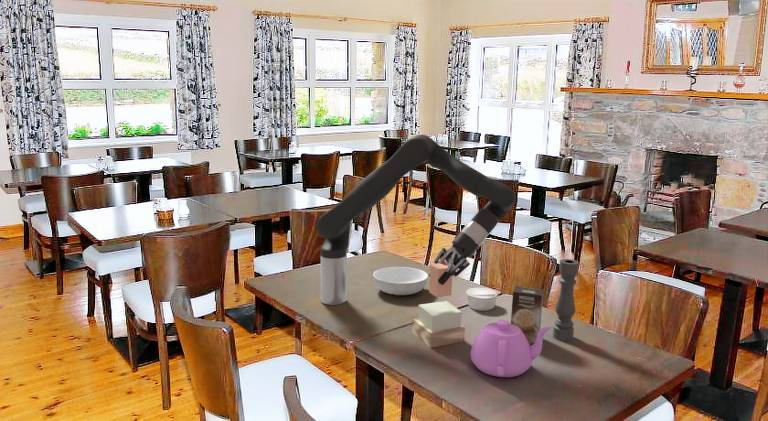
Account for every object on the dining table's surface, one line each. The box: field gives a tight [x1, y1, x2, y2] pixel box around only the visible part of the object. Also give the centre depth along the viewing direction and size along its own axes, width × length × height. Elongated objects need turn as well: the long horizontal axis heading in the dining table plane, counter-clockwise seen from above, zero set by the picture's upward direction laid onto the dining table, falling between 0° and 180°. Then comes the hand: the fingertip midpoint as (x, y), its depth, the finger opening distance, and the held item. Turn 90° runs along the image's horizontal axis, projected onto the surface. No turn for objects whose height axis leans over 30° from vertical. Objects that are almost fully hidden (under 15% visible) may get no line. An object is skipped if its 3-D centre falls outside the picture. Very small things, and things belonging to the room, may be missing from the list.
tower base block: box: [411, 317, 466, 348], centre depth 196 cm, size 12×12×5 cm
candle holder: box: [552, 258, 580, 342], centre depth 196 cm, size 6×6×25 cm
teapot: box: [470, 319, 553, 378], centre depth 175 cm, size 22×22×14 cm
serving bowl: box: [372, 266, 429, 296], centre depth 237 cm, size 21×21×7 cm
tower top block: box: [417, 300, 463, 331], centre depth 195 cm, size 10×10×5 cm
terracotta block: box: [428, 263, 453, 298], centre depth 192 cm, size 5×5×9 cm
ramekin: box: [465, 287, 498, 312], centre depth 223 cm, size 11×11×5 cm
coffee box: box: [510, 285, 544, 344], centre depth 195 cm, size 9×6×16 cm
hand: (435, 280), depth 191 cm, fingers closed on terracotta block, 5 cm apart
